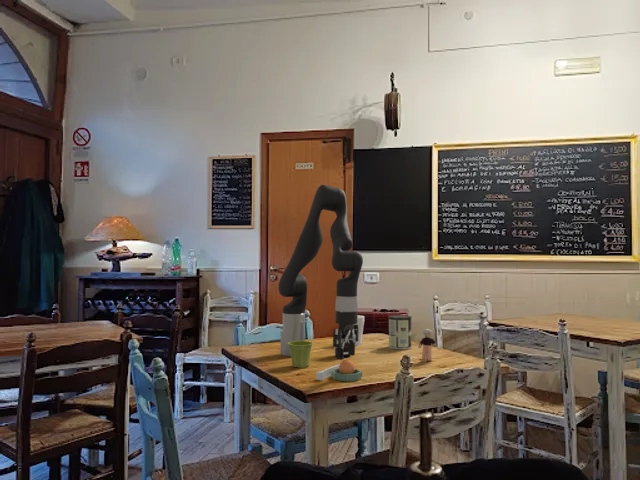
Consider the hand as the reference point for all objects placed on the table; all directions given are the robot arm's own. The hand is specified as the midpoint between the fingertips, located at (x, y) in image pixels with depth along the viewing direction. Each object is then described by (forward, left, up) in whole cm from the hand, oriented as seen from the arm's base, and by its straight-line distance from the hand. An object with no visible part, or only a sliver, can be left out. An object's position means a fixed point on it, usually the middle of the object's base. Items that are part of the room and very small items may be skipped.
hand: (345, 357), depth 171 cm
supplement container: (-18, +32, -7) cm, 37 cm away
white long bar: (-6, +2, -7) cm, 9 cm away
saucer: (0, 0, -7) cm, 7 cm away
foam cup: (-26, +59, -7) cm, 65 cm away
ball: (0, 0, -4) cm, 4 cm away
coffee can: (-5, +63, -7) cm, 64 cm away
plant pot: (-23, +7, -7) cm, 25 cm away
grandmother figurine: (+15, +41, -7) cm, 44 cm away
